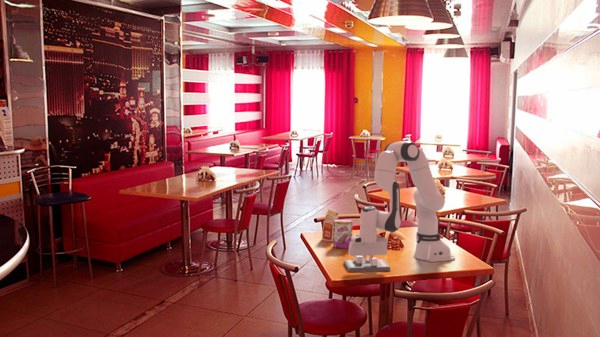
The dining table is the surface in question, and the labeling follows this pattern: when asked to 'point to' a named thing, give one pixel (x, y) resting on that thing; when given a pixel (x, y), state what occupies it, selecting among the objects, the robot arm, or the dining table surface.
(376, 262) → the handle
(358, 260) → the handle middle
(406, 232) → the dining table surface
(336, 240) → the candy bar box
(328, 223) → the milk carton
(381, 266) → the breaker panel
